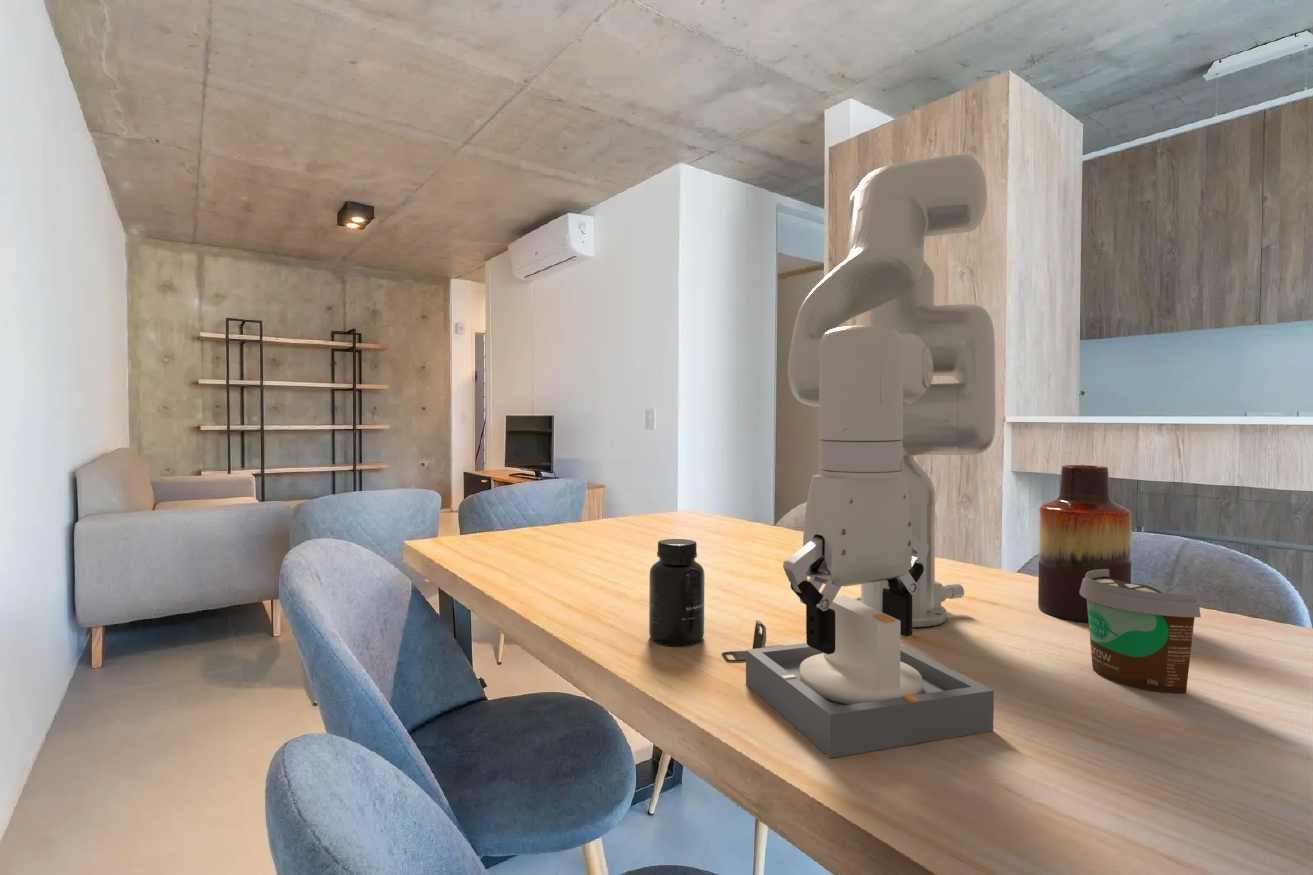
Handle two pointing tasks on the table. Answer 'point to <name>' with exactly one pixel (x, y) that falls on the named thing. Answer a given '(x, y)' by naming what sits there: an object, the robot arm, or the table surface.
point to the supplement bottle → (676, 594)
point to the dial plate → (870, 704)
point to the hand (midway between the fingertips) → (860, 640)
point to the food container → (1139, 633)
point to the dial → (861, 658)
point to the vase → (1080, 540)
